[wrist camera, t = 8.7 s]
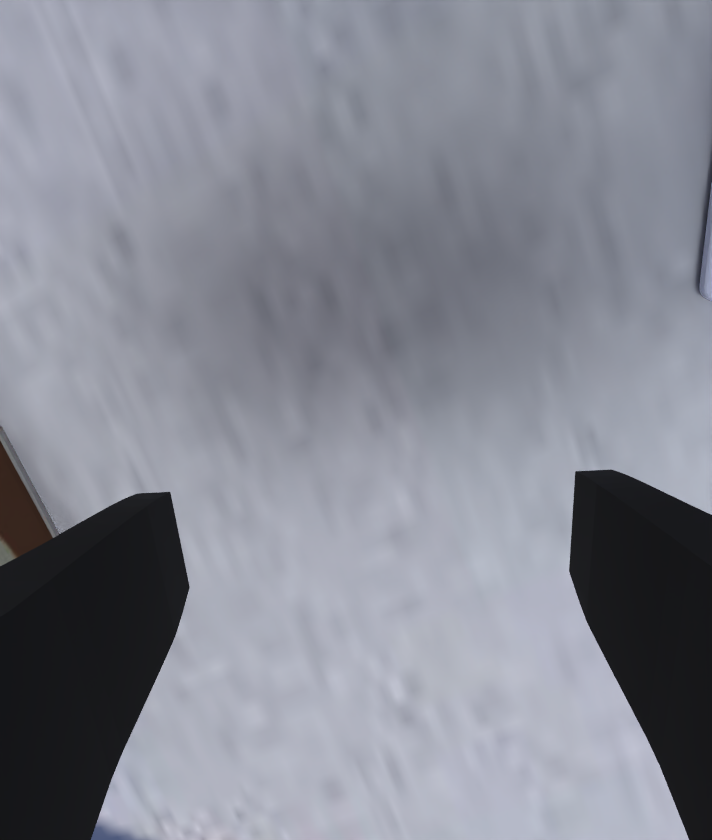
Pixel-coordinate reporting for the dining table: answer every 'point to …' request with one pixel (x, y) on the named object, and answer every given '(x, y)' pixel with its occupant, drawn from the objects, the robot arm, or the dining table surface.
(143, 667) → the robot arm
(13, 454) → the food container
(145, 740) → the dining table surface
